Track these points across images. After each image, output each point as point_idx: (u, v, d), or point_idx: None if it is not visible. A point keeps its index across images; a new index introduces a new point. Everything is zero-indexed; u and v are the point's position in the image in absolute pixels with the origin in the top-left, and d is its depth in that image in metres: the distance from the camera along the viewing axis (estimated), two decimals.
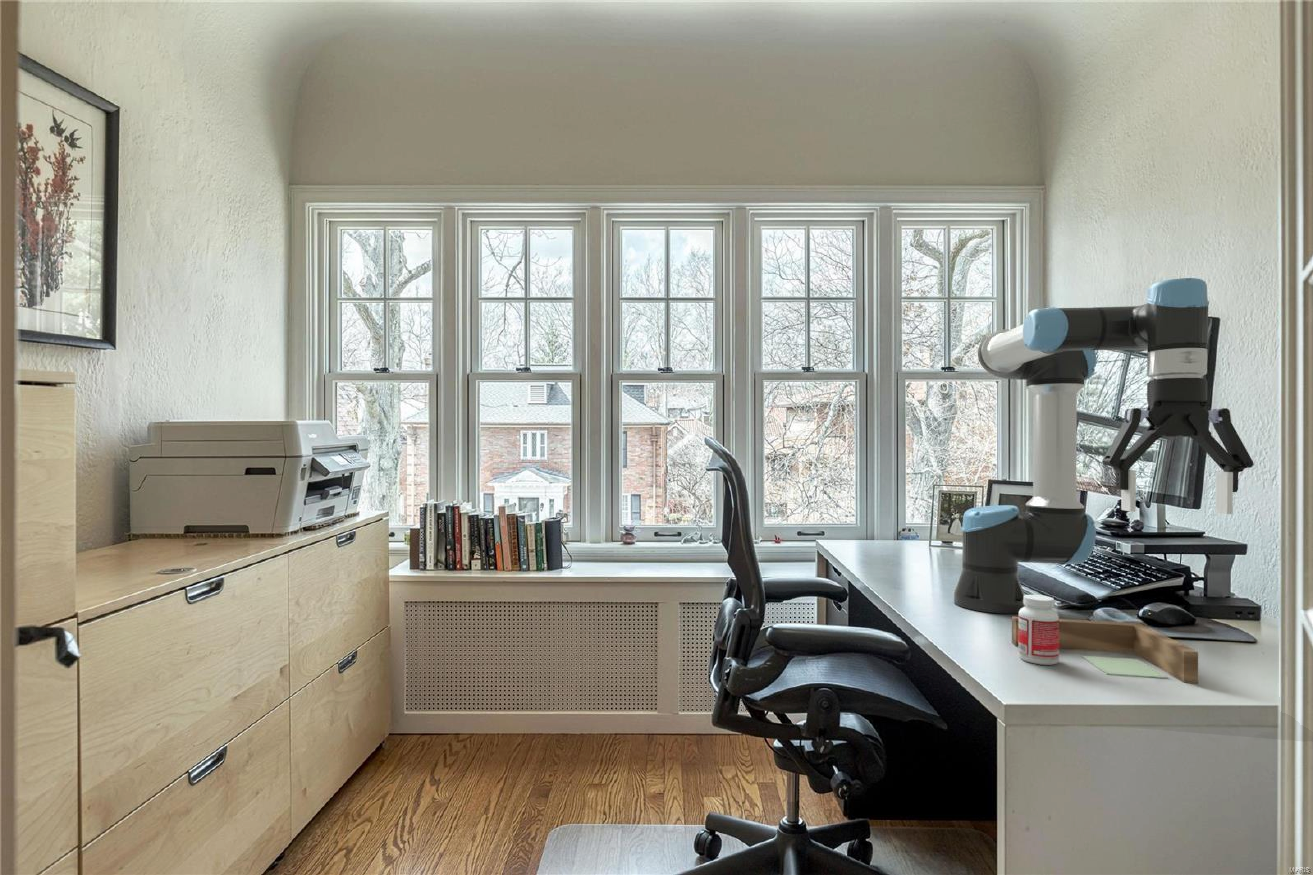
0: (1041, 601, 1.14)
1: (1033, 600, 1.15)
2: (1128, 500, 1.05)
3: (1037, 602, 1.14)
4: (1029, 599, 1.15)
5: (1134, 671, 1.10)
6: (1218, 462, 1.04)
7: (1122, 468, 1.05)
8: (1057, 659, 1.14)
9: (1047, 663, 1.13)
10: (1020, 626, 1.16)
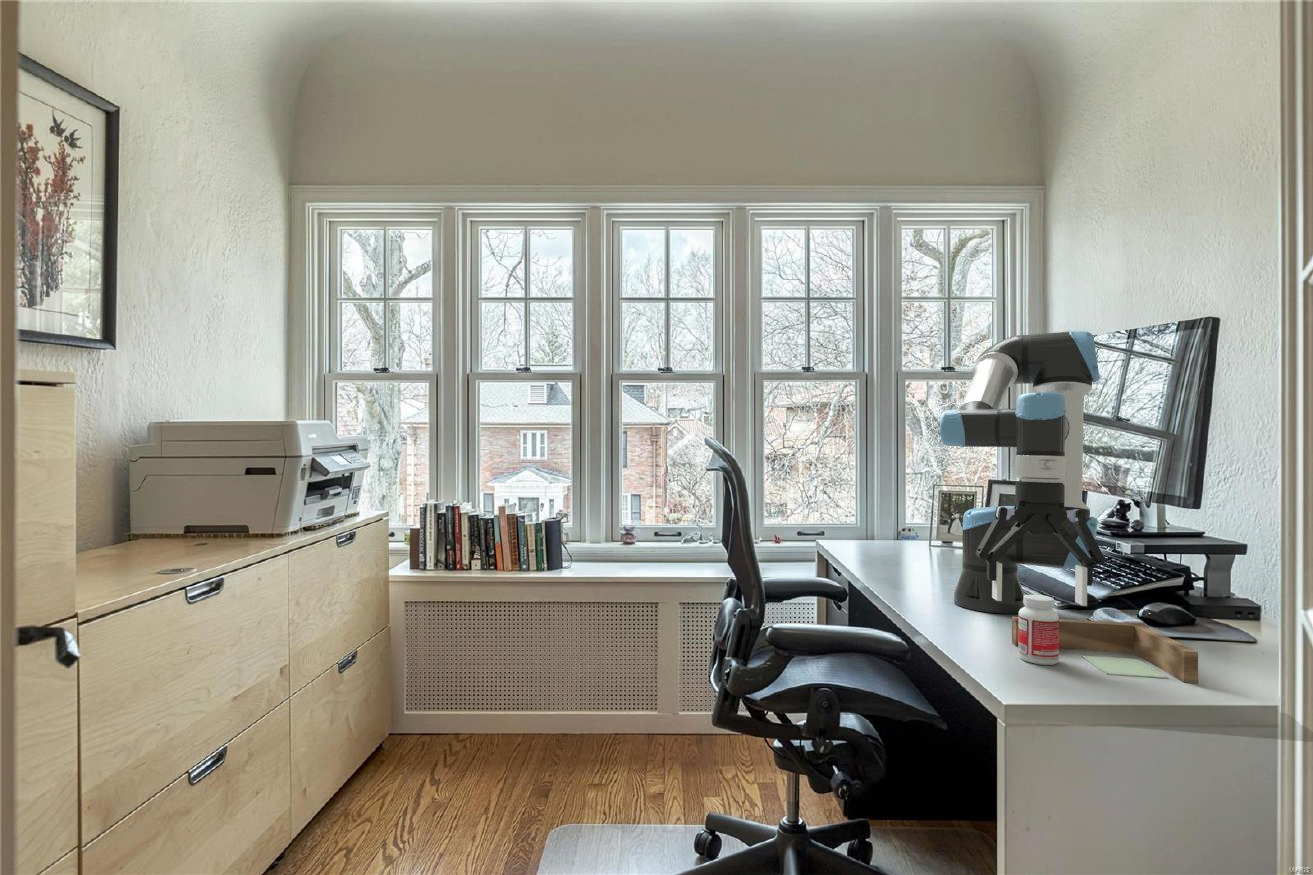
0: (1041, 601, 1.14)
1: (1033, 600, 1.15)
2: (996, 590, 1.17)
3: (1037, 602, 1.14)
4: (1029, 599, 1.15)
5: (1134, 671, 1.10)
6: (1076, 557, 1.16)
7: (990, 561, 1.17)
8: (1057, 659, 1.14)
9: (1047, 663, 1.13)
10: (1020, 626, 1.16)
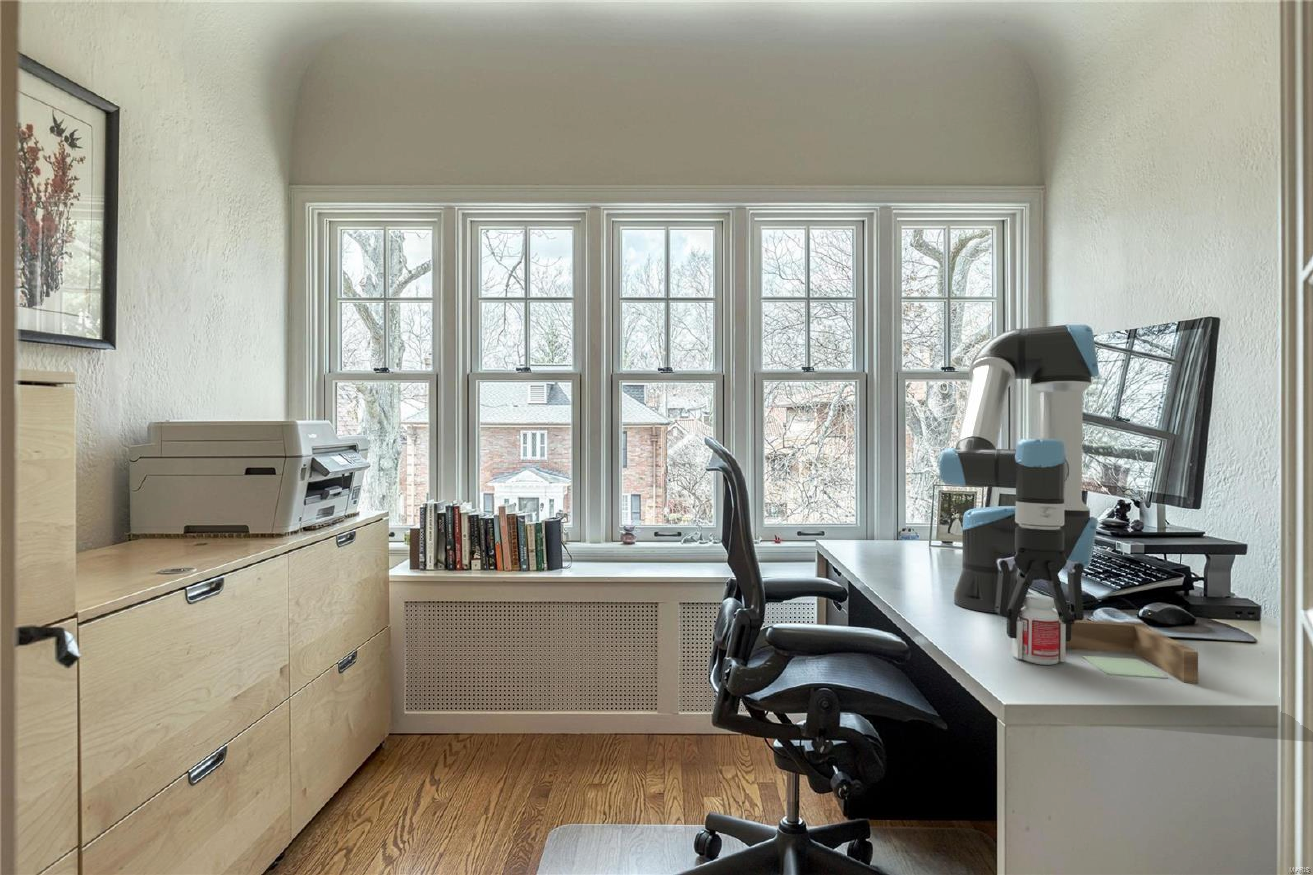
0: (1041, 601, 1.14)
1: (1033, 600, 1.15)
2: (1016, 648, 1.16)
3: (1037, 602, 1.14)
4: (1029, 599, 1.15)
5: (1134, 671, 1.10)
6: (1058, 610, 1.16)
7: (1012, 619, 1.16)
8: (1057, 659, 1.14)
9: (1047, 663, 1.13)
10: None
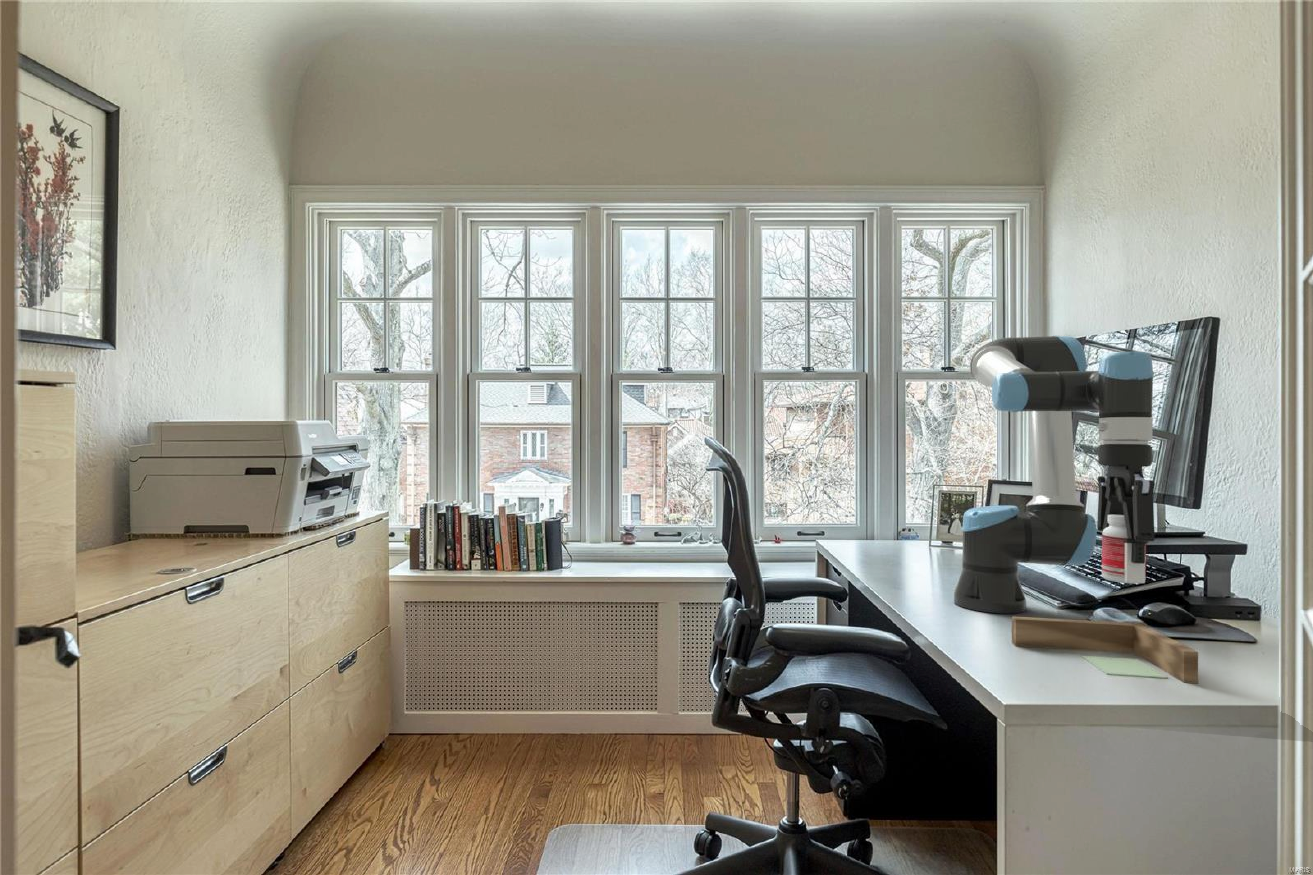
0: (1108, 516, 1.14)
1: None
2: None
3: None
4: None
5: (1134, 671, 1.10)
6: None
7: None
8: (1117, 577, 1.11)
9: (1105, 577, 1.13)
10: None
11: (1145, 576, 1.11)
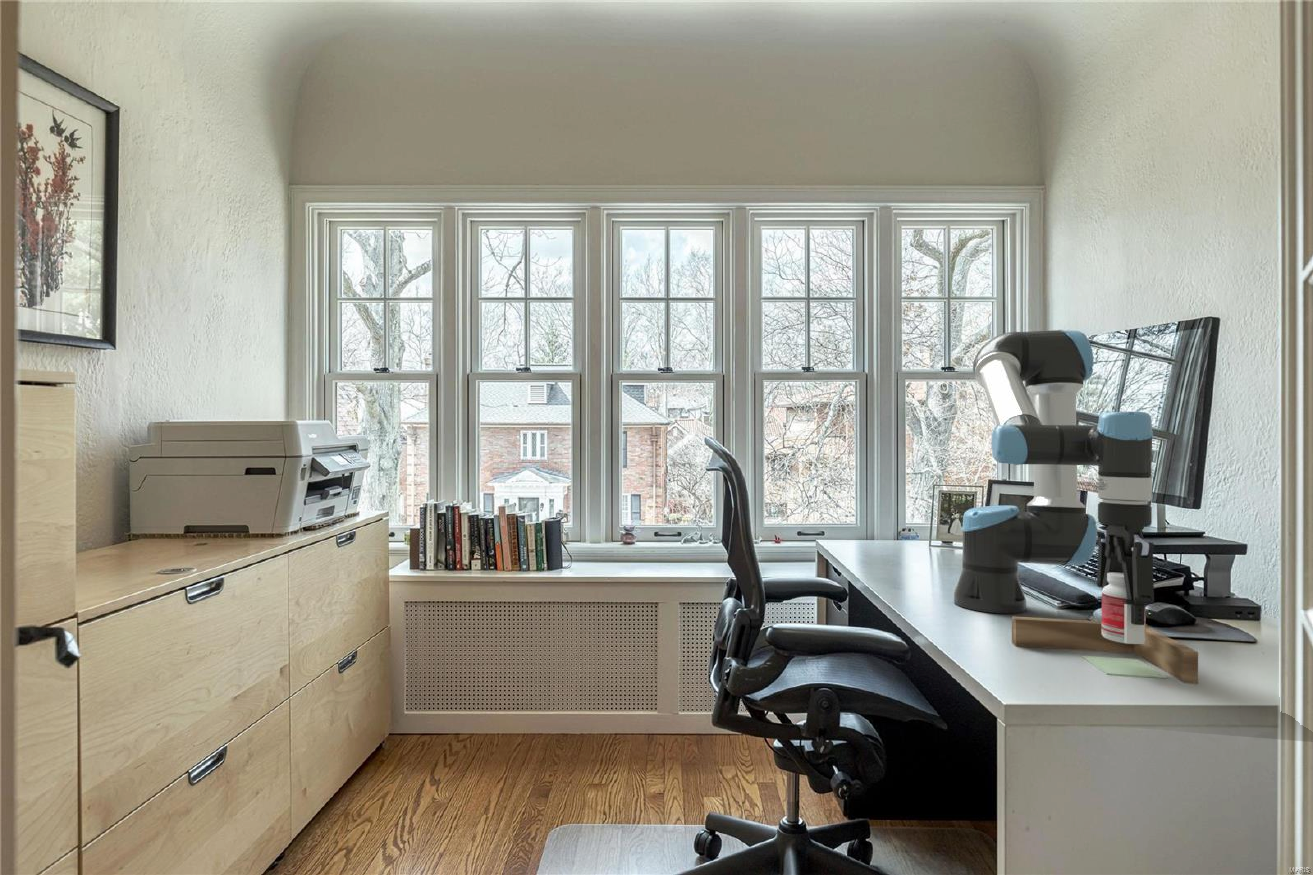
0: (1107, 574, 1.14)
1: None
2: None
3: (1107, 575, 1.14)
4: (1110, 573, 1.15)
5: (1134, 671, 1.10)
6: None
7: None
8: (1117, 637, 1.11)
9: (1104, 636, 1.13)
10: None
11: None
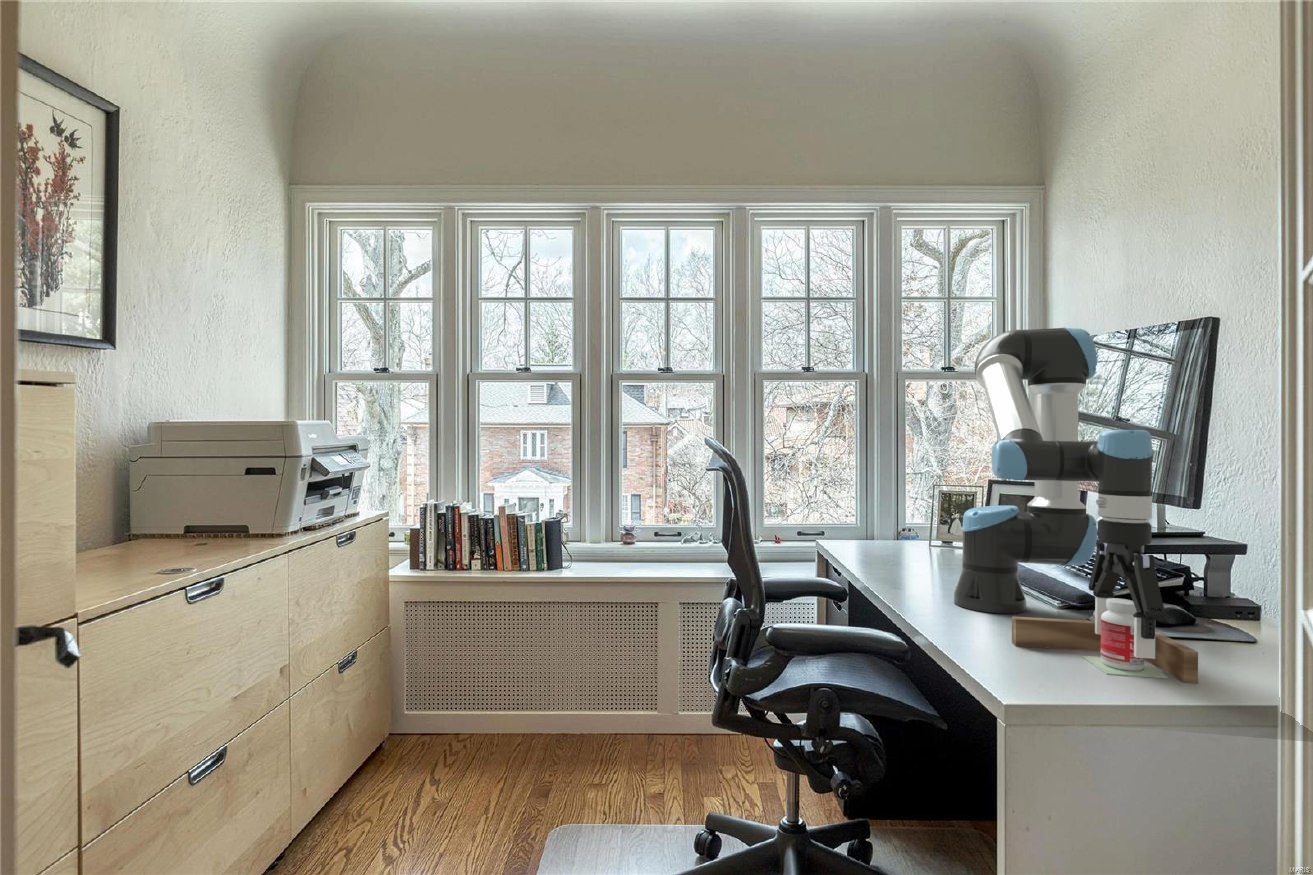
0: (1106, 601, 1.14)
1: None
2: None
3: (1106, 601, 1.15)
4: None
5: (1134, 671, 1.10)
6: None
7: None
8: (1116, 664, 1.11)
9: (1103, 662, 1.13)
10: None
11: None
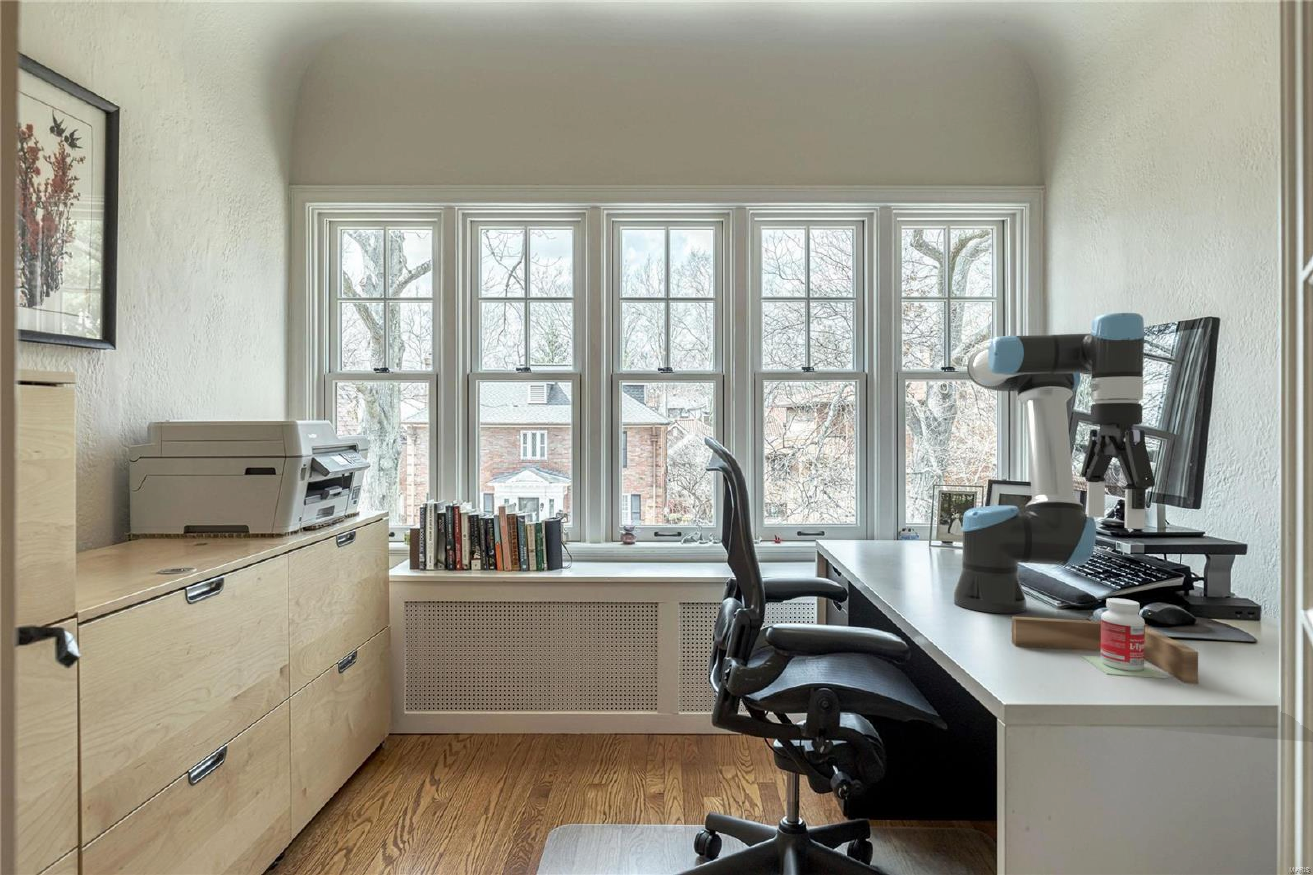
0: (1106, 601, 1.14)
1: (1107, 599, 1.15)
2: None
3: (1106, 601, 1.15)
4: None
5: (1134, 671, 1.10)
6: None
7: None
8: (1116, 663, 1.11)
9: (1103, 662, 1.13)
10: None
11: None
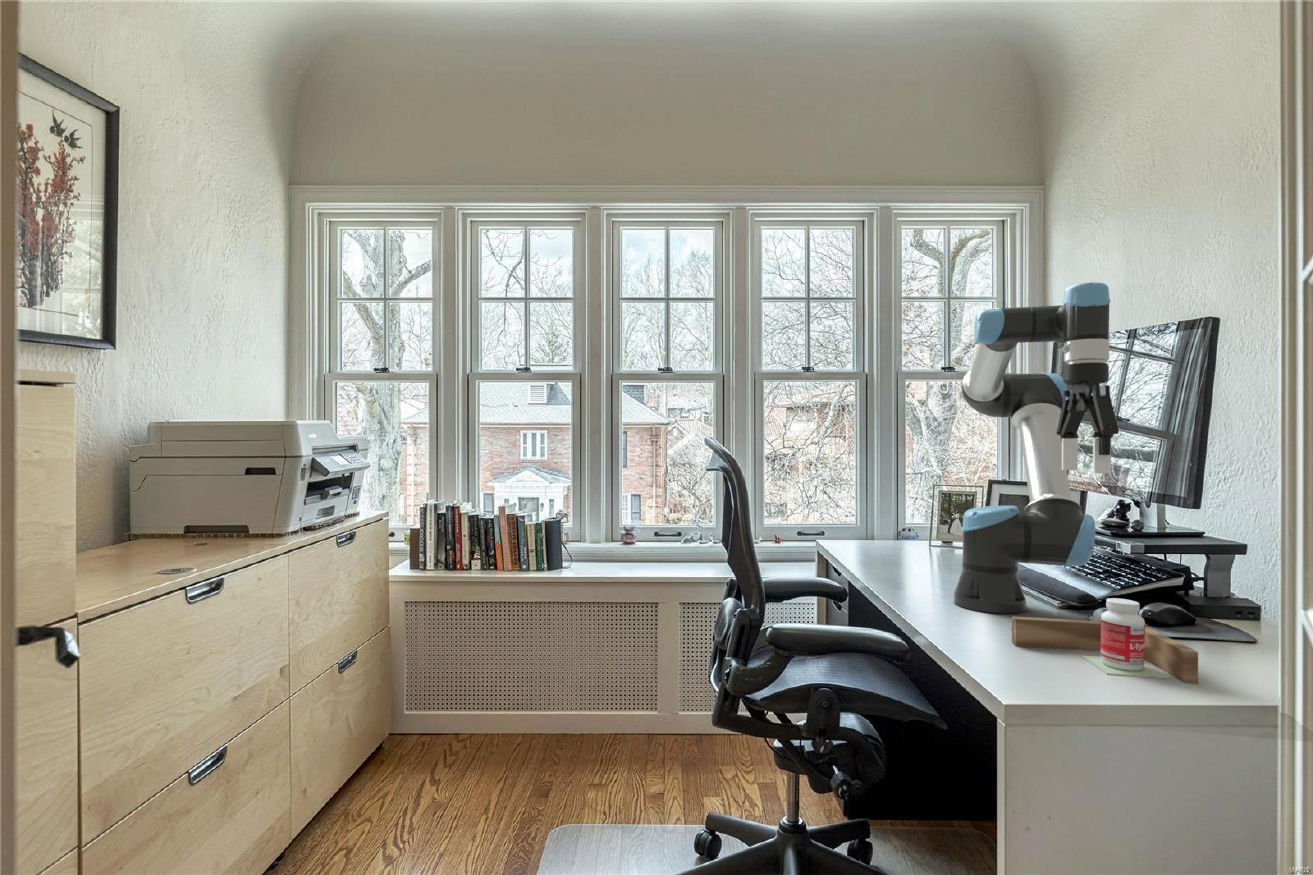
0: (1106, 601, 1.14)
1: (1107, 599, 1.15)
2: None
3: (1106, 601, 1.15)
4: None
5: (1134, 671, 1.10)
6: None
7: None
8: (1116, 664, 1.11)
9: (1103, 662, 1.13)
10: None
11: None
